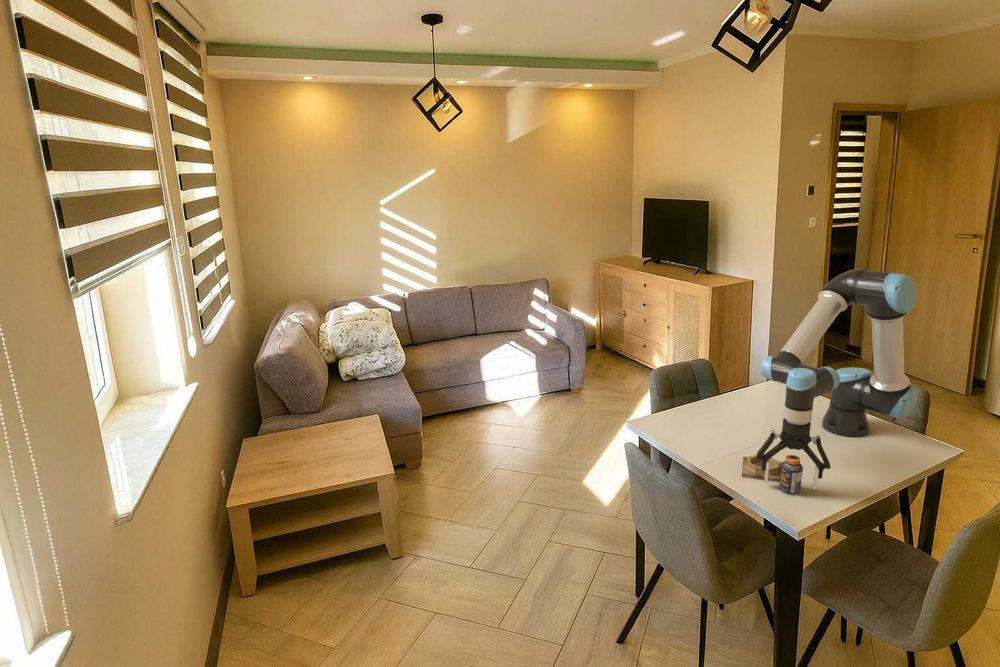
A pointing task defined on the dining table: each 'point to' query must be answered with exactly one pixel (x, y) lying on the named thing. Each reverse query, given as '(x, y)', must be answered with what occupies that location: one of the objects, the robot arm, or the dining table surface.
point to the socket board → (754, 468)
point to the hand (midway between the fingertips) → (790, 483)
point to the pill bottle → (791, 475)
